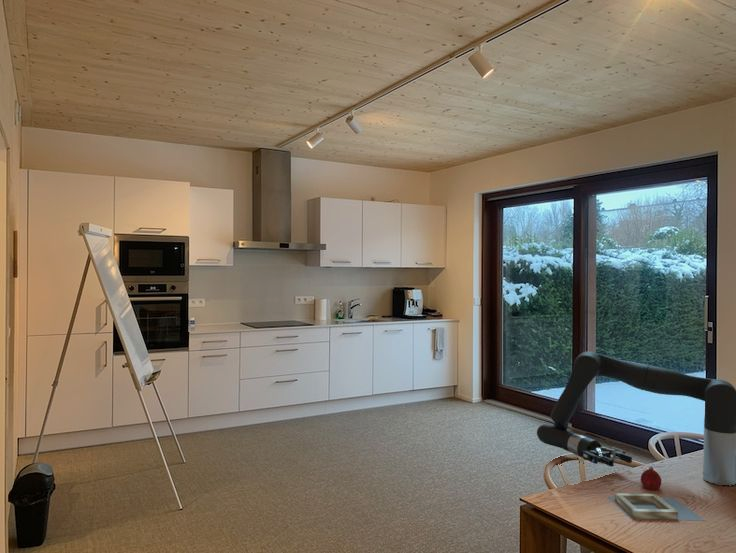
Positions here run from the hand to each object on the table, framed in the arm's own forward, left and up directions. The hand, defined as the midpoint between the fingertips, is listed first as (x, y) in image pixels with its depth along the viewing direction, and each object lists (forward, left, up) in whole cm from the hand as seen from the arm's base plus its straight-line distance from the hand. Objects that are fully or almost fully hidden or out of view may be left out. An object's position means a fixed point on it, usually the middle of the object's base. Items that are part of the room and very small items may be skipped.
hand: (622, 461), depth 181 cm
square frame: (+6, +26, -5) cm, 27 cm away
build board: (+3, +25, -6) cm, 26 cm away
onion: (-4, +10, -6) cm, 12 cm away
